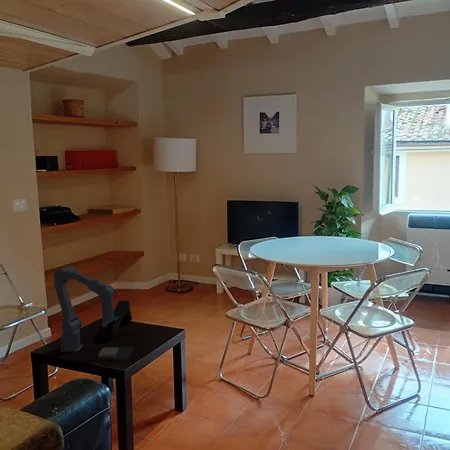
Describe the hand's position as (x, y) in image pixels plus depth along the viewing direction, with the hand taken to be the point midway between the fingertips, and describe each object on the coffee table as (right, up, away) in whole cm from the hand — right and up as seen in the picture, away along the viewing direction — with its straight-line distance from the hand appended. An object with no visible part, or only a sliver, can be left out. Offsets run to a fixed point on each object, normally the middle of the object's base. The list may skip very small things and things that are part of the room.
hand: (109, 335), depth 246 cm
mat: (+3, -9, 0) cm, 10 cm away
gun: (-3, -5, +33) cm, 34 cm away
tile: (0, -8, +3) cm, 8 cm away
